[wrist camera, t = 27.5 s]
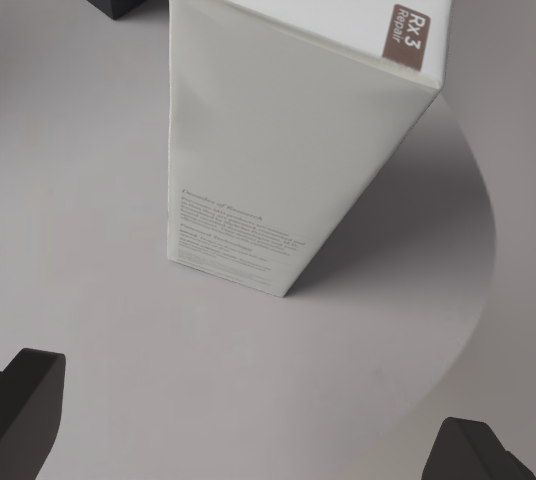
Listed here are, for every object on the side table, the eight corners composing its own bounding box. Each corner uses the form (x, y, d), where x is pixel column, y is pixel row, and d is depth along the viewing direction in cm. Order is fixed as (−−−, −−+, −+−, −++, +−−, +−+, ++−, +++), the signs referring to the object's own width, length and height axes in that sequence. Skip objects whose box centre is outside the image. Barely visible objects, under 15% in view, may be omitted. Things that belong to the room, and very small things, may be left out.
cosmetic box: (220, 134, 25) (269, -229, 12) (326, 169, 25) (487, -149, 12) (163, 271, 21) (144, -43, 8) (289, 311, 22) (466, 69, 8)
